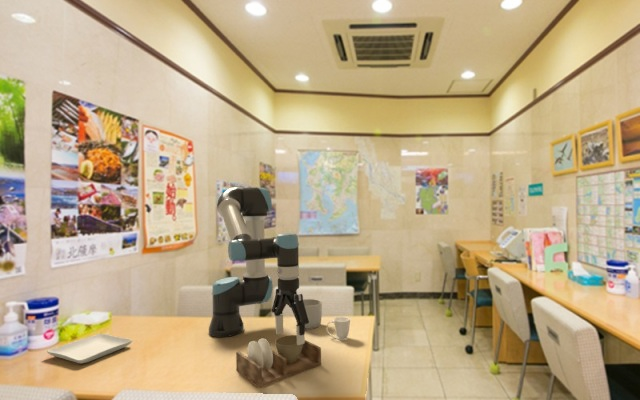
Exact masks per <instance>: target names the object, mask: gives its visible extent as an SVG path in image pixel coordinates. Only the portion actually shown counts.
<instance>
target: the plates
mask: <svg viewBox="0 0 640 400" xmlns="http://www.w3.org/2000/svg"><path fill="white" fill-rule="evenodd" d="M272 350H273V349H272V346H271V344H270V342H269V341H268V339H266V338H264V337H262V338H260V339H258V340H257V341H256V340H252V341H249V343H248V345H247V353H246V354H247V355H246V356H247V357H248V358H249V359H251V360H252V361H254V362H255V363H257V364H258V365H260V366H261V367H262V369H264V370H269V369H271V367H272V365H273V352H272Z"/></svg>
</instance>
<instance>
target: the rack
mask: <svg viewBox="0 0 640 400" xmlns="http://www.w3.org/2000/svg"><path fill="white" fill-rule="evenodd" d="M321 350H322V347H321V346H319V345H316V344H315V343H312V342H310V341H308V340H306V339H305V343H304V344H303V347H302V351H301V353H300V356H299V358H298V360H297V361H296V362H294V363H287V360H286V358H284V357H283V356H281V355H279V354H278V352H275V351H274V350H273V349H272V352H273V365H272V367H271V369H269V370H264V369H262V367H261V366H260V365H258V364H257V363H255V362H254V361H252V360H251V359H249V358H248V355H245V354H243V353H242V352H241V351H240V350H238V351H236V352H235V353H236V356H235V359H236V360H235V361H236V363H235V364H236V371H237V372H239V373H240V374H241V375H242V376H244V377H245V378H246V379H247V380H248V381H250V382H251V383H252V384H253V385H255V386H256V387H257V388H262V387H265V386H268V385H270V384H273V383H276V382H279V381H281V380H284V379H287V378H290V377H293V376H295V375H298V374H301V373H304V372H306V371H309V370H311V369H314V368H317V367H320V366H322V351H321Z"/></svg>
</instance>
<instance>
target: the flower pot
mask: <svg viewBox="0 0 640 400" xmlns="http://www.w3.org/2000/svg"><path fill="white" fill-rule="evenodd" d="M274 344H275V349H276V351H277V352H276V353H278V354H279V355H281V356H283V357H284V358H286V360H287V363H294V362H296V361H297V360H298V358H299V356H300V353H301V351H302V347H303V344H301V345H297V334H295V335H294V334H288V335H282V336H279V337H278V338H276V339H275V341H274Z"/></svg>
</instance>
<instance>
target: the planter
mask: <svg viewBox="0 0 640 400" xmlns="http://www.w3.org/2000/svg"><path fill="white" fill-rule="evenodd" d="M303 302H304V306H305V309H306V313H307V317H308V320H309V323H308V324H305V330H311V329H316V328H317V327H319V326H320V325H321V324H322V315H323V314H322V313H323V311H322V310H323V307H322V306H323V302H322V300H320V299H315V298H307V299H306V298H305V299H304V298H303ZM297 324H298V323H297V321H296V325H297Z"/></svg>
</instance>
